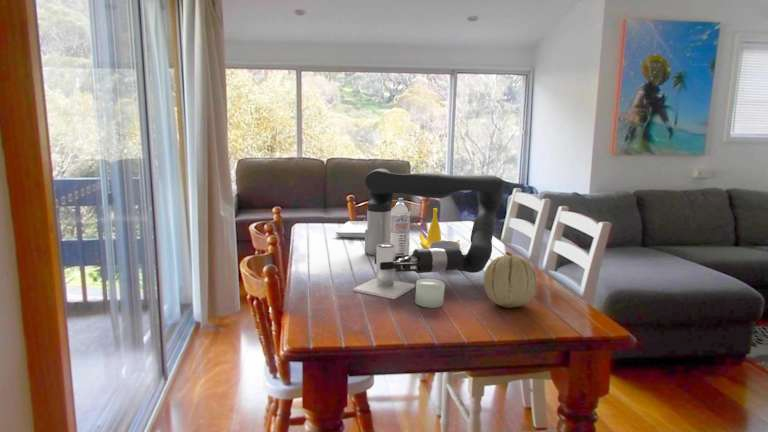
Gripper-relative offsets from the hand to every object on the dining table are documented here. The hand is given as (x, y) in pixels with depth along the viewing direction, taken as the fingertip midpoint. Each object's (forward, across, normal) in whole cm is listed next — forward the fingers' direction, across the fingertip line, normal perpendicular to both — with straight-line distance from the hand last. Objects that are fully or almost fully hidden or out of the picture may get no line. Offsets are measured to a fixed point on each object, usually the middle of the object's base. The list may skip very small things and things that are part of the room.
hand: (377, 263), depth 155 cm
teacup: (-32, -24, +9) cm, 41 cm away
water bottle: (-14, -21, +8) cm, 27 cm away
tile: (-2, 0, +8) cm, 9 cm away
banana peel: (-41, -49, +9) cm, 64 cm away
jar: (-11, +16, +8) cm, 21 cm away
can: (-3, 0, +7) cm, 7 cm away
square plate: (-19, -81, +9) cm, 84 cm away
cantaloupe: (-32, +23, +9) cm, 40 cm away
